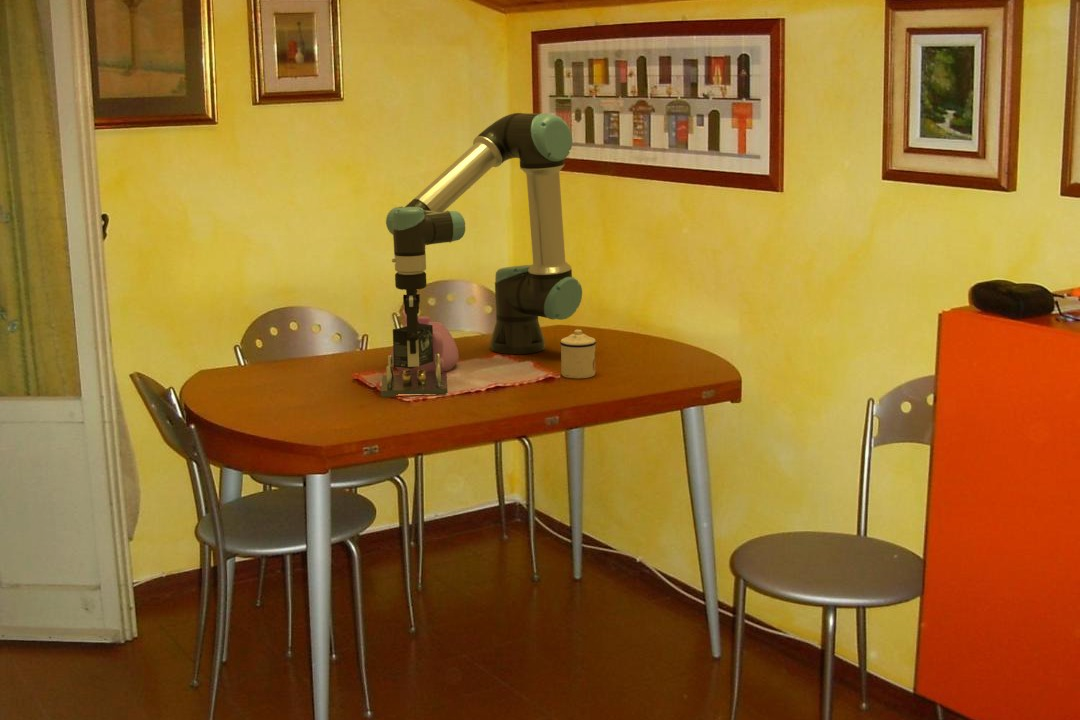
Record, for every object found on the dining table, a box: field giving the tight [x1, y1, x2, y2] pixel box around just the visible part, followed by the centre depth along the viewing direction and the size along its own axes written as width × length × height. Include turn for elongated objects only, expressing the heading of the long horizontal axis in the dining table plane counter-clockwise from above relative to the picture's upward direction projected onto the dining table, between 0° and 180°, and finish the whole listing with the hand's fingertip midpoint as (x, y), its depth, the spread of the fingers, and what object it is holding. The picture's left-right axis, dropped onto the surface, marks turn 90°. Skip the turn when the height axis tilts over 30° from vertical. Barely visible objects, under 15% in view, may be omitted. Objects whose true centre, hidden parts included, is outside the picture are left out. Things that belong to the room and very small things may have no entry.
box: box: [392, 323, 434, 369], centre depth 324 cm, size 9×6×10 cm, turn 147°
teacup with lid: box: [559, 329, 597, 380], centre depth 337 cm, size 12×9×12 cm
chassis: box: [380, 353, 448, 398], centre depth 326 cm, size 16×16×7 cm
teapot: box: [390, 309, 460, 374], centre depth 347 cm, size 25×18×14 cm
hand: (413, 361), depth 325 cm, fingers closed on box, 10 cm apart
